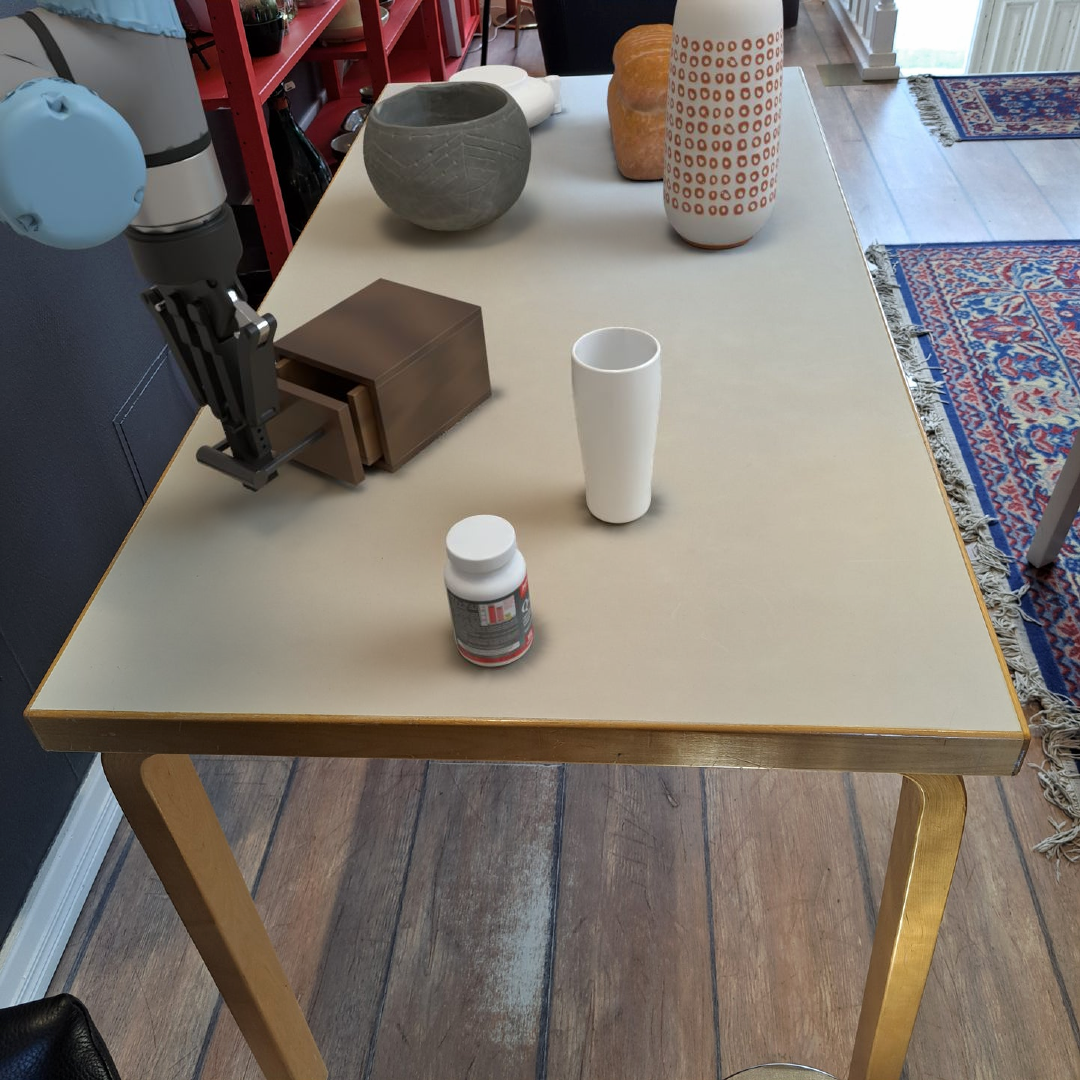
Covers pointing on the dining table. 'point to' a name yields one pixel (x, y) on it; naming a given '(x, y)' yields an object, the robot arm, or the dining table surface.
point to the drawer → (311, 428)
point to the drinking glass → (617, 418)
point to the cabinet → (401, 360)
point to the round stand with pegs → (519, 89)
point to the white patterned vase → (723, 119)
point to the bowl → (448, 153)
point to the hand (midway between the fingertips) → (261, 481)
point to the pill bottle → (487, 591)
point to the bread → (640, 100)
